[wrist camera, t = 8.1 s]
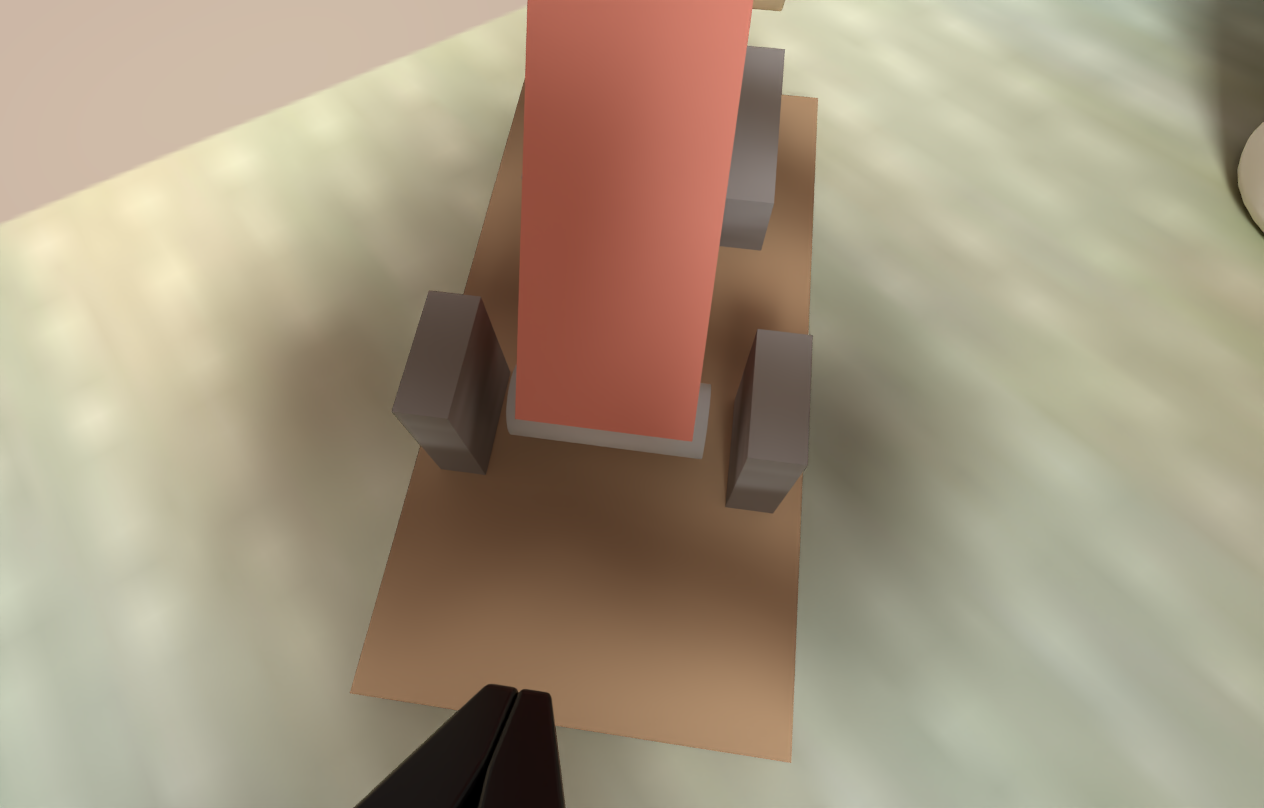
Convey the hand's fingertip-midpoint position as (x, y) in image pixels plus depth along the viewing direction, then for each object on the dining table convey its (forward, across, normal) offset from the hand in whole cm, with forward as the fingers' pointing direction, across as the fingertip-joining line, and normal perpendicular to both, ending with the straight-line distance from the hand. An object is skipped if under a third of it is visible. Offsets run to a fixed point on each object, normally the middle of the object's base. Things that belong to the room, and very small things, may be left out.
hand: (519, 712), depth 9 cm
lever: (+8, 0, -1) cm, 8 cm away
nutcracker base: (+13, 0, -1) cm, 13 cm away
